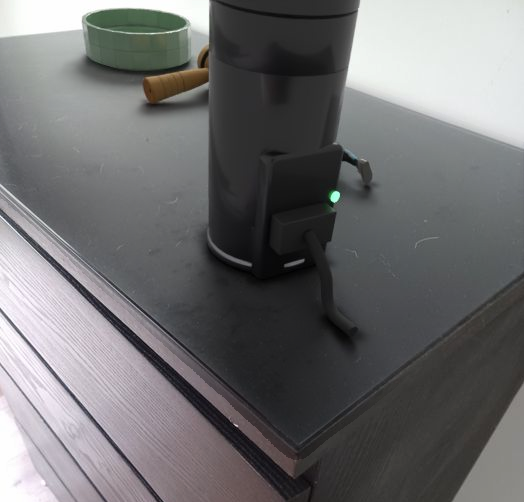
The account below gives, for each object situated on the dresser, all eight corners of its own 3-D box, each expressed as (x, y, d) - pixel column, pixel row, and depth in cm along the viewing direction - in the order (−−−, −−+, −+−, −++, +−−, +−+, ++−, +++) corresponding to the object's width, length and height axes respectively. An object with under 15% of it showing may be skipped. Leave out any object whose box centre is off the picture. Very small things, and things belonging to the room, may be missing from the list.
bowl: (207, 69, 78) (208, 30, 74) (106, 78, 72) (101, 36, 68) (167, 41, 87) (165, 6, 84) (74, 47, 81) (68, 9, 77)
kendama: (168, 126, 64) (288, 87, 70) (154, 69, 60) (283, 33, 67) (144, 116, 70) (257, 81, 76) (129, 63, 66) (250, 30, 72)
